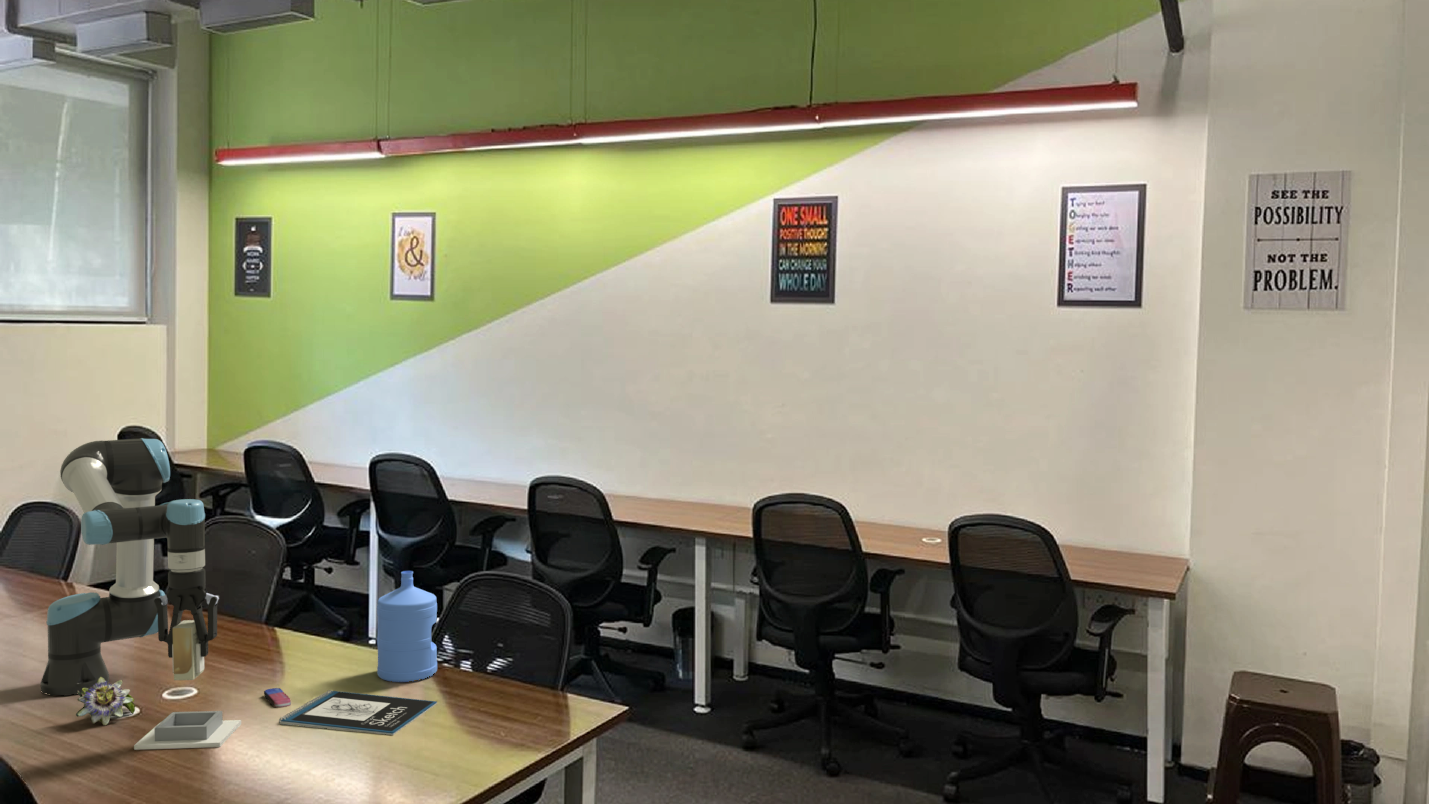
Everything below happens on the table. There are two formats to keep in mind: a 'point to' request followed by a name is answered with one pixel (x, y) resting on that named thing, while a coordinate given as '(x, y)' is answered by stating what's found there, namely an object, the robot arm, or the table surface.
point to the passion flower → (105, 701)
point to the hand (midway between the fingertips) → (188, 670)
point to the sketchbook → (358, 712)
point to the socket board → (189, 731)
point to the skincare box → (185, 650)
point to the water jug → (406, 633)
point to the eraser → (277, 697)
